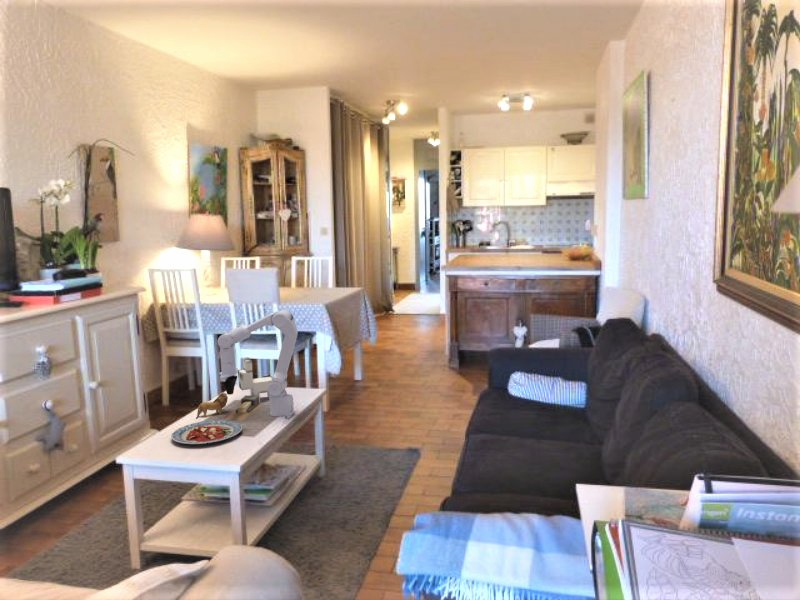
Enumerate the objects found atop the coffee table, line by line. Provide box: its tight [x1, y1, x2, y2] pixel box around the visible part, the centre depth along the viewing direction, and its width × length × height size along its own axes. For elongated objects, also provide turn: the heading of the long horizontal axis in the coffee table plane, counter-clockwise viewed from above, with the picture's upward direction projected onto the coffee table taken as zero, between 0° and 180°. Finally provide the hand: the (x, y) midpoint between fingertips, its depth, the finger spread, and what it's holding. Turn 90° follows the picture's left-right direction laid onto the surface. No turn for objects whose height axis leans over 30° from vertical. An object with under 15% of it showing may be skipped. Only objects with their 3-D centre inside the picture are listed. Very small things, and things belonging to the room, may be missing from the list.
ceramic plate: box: [170, 419, 243, 445], centre depth 235 cm, size 26×26×3 cm
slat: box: [237, 401, 253, 414], centre depth 264 cm, size 3×12×2 cm, turn 174°
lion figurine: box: [195, 392, 229, 420], centre depth 258 cm, size 15×5×9 cm, turn 134°
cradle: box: [223, 395, 263, 422], centre depth 261 cm, size 9×22×4 cm, turn 174°
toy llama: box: [237, 357, 273, 404], centre depth 276 cm, size 8×18×20 cm, turn 115°
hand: (230, 394), depth 257 cm, fingers closed
